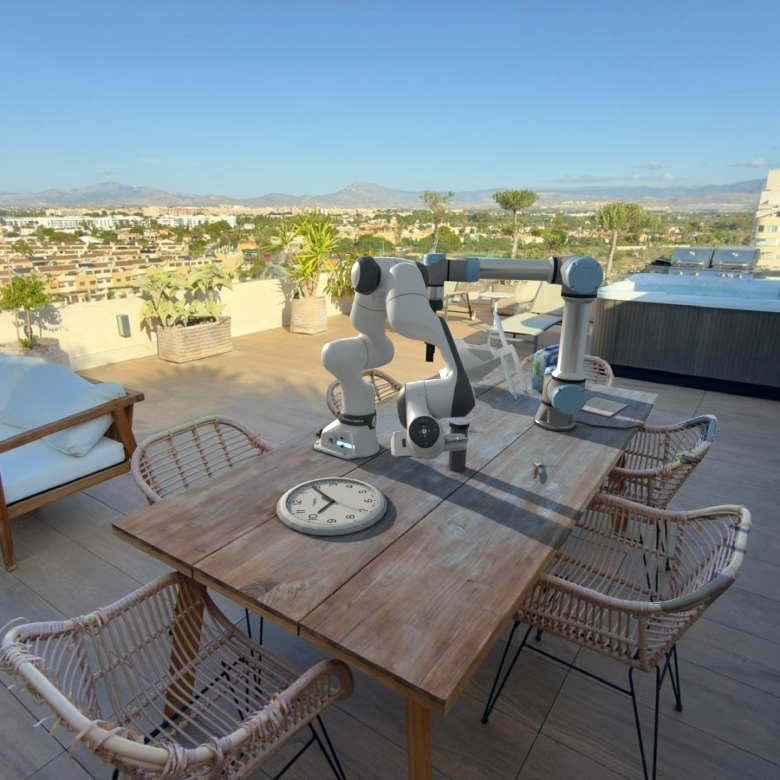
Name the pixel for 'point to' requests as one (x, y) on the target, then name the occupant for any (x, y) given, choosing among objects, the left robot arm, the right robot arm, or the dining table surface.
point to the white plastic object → (489, 360)
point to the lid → (459, 423)
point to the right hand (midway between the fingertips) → (430, 357)
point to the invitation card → (603, 406)
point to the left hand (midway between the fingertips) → (429, 448)
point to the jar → (457, 454)
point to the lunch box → (543, 365)
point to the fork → (537, 465)
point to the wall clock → (331, 506)
